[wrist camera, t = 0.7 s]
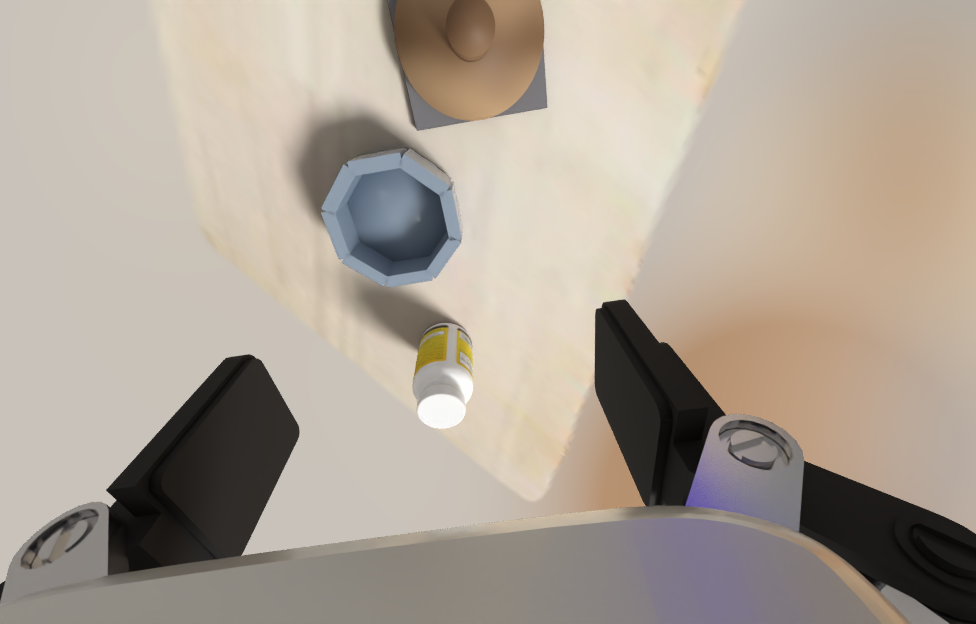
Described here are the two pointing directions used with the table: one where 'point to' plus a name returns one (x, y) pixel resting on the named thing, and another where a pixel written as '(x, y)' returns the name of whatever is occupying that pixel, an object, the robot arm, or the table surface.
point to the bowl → (393, 217)
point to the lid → (469, 52)
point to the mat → (433, 118)
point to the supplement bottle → (443, 375)
